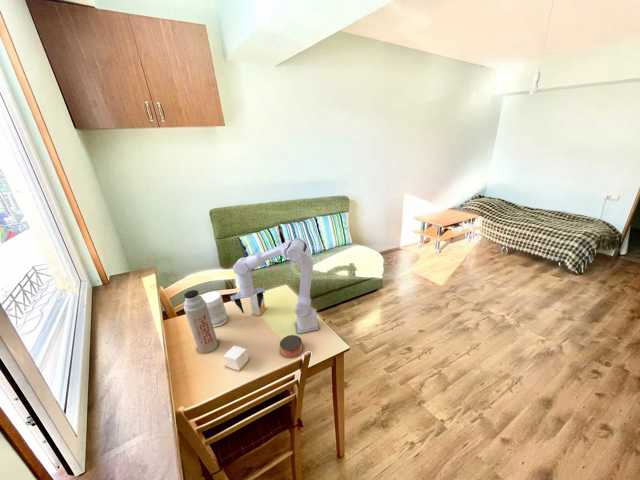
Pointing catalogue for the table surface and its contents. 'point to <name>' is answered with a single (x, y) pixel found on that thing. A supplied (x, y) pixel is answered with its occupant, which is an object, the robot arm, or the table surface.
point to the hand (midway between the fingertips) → (251, 309)
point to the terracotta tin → (291, 346)
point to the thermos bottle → (200, 322)
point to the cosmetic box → (255, 307)
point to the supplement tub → (215, 308)
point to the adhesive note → (236, 357)
